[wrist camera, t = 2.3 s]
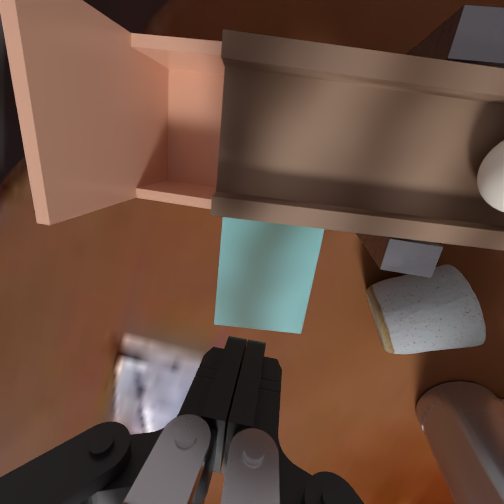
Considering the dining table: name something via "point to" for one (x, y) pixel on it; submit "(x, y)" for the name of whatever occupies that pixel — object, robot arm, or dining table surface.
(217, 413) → the robot arm
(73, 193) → the cup
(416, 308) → the ceramic mug
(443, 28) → the pivot stand
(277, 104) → the lever board
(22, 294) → the dining table surface
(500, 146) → the ball
